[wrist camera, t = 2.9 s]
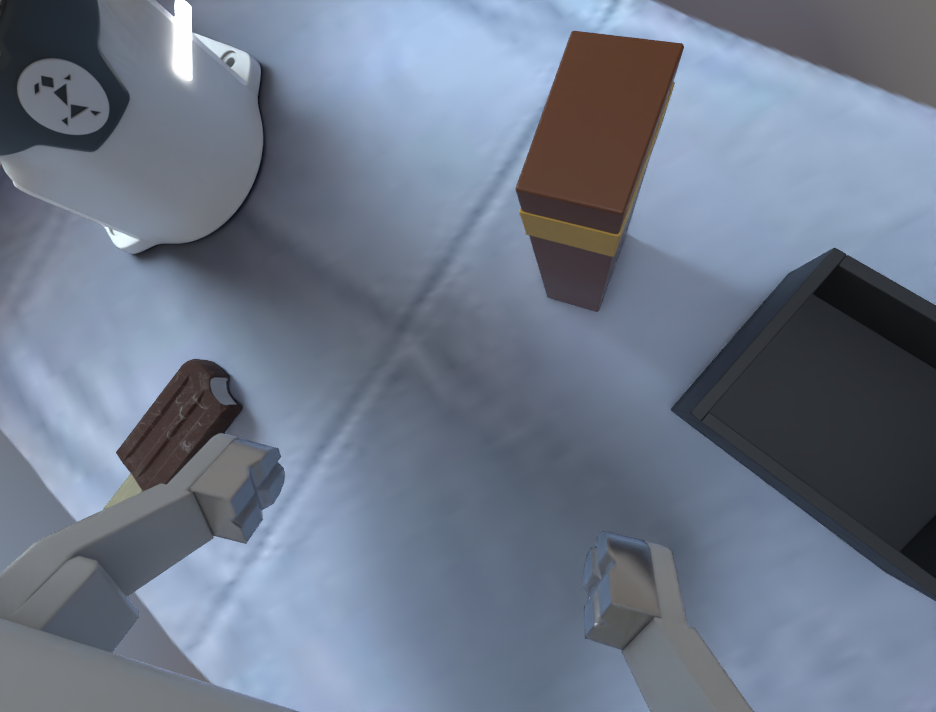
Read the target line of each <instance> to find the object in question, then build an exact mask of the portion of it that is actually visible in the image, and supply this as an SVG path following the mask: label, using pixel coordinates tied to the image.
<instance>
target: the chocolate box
mask: <svg viewBox="0 0 936 712" xmlns="http://www.w3.org/2000/svg"><path fill="white" fill-rule="evenodd" d="M683 49H684V46H683V44H682V43H673V42H664V41H656V40H647V39H639V38H630V37H622V36H613V35H605V34H596V33H588V32H579V31H572V33H571V35H570V37H569V40H568V43H567V46H566V48H565V51H564V54H563V57H562V60H561V62H560V65H559V68H558V71H557V74H556V76H555V79H554V82H553V85H552V88H551V90H550V93H549V96H548V99H547V102H546V104H545V107H544V110H543V113H542V116H541V118H540V121H539V124H538V127H537V130H536V132H535V135H534V138H533V141H532V144H531V146H530V149H529V152H528V155H527V158H526V160H525V163H524V166H523V169H522V172H521V174H520V177H519V180H518V183H517V186H516V193H517V196H518V199H519V203H520V206H521V209H520V215H521V219H522V222H523V225H524V228H525V231H526V234H527V235H529V236H530V240H531V243H532V246H533V250H534V253H535V257H536V260H537V263H538V267H539V270H540V273H541V277H542V280H543V284H544V287H545V290H546V294H547V297H549V298H552V299H556V300H559V301H562V302H566V303H569V304H572V305H576V306H579V307H583V308H586V309H589V310H593V311H596V312H598V311H599V308H600V306H601V303H602V300H603V297H604V295H605V292H606V289H607V286H608V283H609V281H610V278H611V275H612V272H613V269H614V267H615V264H616V261H617V258H618V255H619V253H620V250H621V247H622V244H623V241H624V239H625V236H626V233H627V230H628V226H629V223H630V220H631V217H632V213H633V210H634V207H635V204H636V201H637V197H638V194H639V191H640V188H641V184H642V181H643V178H644V175H645V171H646V168H647V165H648V162H649V159H650V156H651V153H652V150H653V147H654V144H655V142H656V139H657V136H658V133H659V130H660V128H661V125H662V122H663V119H664V116H665V113H666V109H667V106H668V103H669V100H670V97H671V94H672V90H673V87H674V84H675V83H674V78H675V75H676V71H677V68H678V65H679V62H680V59H681V55H682V52H683Z"/></svg>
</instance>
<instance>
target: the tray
mask: <svg viewBox="0 0 936 712" xmlns="http://www.w3.org/2000/svg"><path fill="white" fill-rule="evenodd" d="M671 411H673V412H674V413H675V414H677V415H678V416H679V417H681V418H682V419H683V420H685V421H686V422H687V423H688V424H690V425H691V426H692V427H694V428H695V429H696V430H698V431H699V432H700V433H702V434H703V435H704V436H706V437H707V438H708V439H710V440H711V441H712V442H714V443H715V444H716V445H718V446H719V447H720V448H722V449H723V450H724V451H726V452H727V453H728V454H730V455H731V456H732V457H734V458H735V459H736V460H738V461H739V462H740V463H742V464H743V465H744V466H745V467H747V468H748V469H749V470H751V471H752V472H753V473H755V474H756V475H757V476H759V477H760V478H761V479H763V480H764V481H765V482H767V483H768V484H769V485H771V486H772V487H773V488H775V489H776V490H777V491H779V492H780V493H781V494H783V495H784V496H785V497H787V498H788V499H789V500H791V501H792V502H793V503H795V504H796V505H797V506H799V507H800V508H801V509H802V510H804V511H805V512H806V513H808V514H809V515H810V516H812V517H813V518H814V519H816V520H817V521H818V522H820V523H821V524H822V525H824V526H825V527H826V528H828V529H829V530H830V531H832V532H833V533H834V534H836V535H837V536H838V537H840V538H841V539H842V540H844V541H845V542H846V543H848V544H849V545H850V546H852V547H853V548H854V549H856V550H857V551H858V552H860V553H861V554H862V555H863V556H865V557H866V558H867V559H869V560H870V561H871V562H873V563H874V564H875V565H877V566H878V567H879V568H881V569H882V570H883V571H885V572H886V573H888V574H889V575H891V576H893V577H895V578H897V579H898V580H900V581H902V582H903V583H905V584H907V585H909V586H910V587H912V588H914V589H916V590H917V591H919V592H921V593H923V594H924V595H926V596H928V597H930V598H931V599H933V600H935V601H936V305H934V304H932V303H930V302H929V301H927V300H925V299H923V298H922V297H920V296H918V295H916V294H915V293H913V292H911V291H909V290H908V289H906V288H904V287H903V286H901V285H899V284H897V283H896V282H894V281H892V280H890V279H889V278H887V277H885V276H883V275H882V274H880V273H878V272H876V271H875V270H873V269H871V268H869V267H868V266H866V265H864V264H862V263H861V262H859V261H857V260H855V259H854V258H852V257H850V256H848V255H847V256H846V254H845V253H843V252H842V251H840V250H838V249H836V248H833V249H831V250H829V251H828V252H826V253H824V254H822V255H821V256H819V257H817V258H815V259H813V260H812V261H810V262H808V263H806V264H805V265H803V266H801V267H799V268H798V269H796V270H794V271H792V272H790V273H789V274H788V275H787V276H786V277H785V279H784V280H783V281H782V282H781V283H780V284H779V286H778V287H777V288H776V289H775V290H774V291H773V292H772V294H771V295H770V296H769V297H768V298H767V299H766V301H765V302H764V303H763V304H762V305H761V306H760V307H759V309H758V310H757V311H756V312H755V313H754V314H753V316H752V317H751V318H750V319H749V320H748V321H747V322H746V324H745V325H744V326H743V327H742V328H741V329H740V331H739V332H738V333H737V334H736V335H735V336H734V337H733V339H732V340H731V341H730V342H729V343H728V344H727V346H726V347H725V348H724V349H723V350H722V351H721V352H720V354H719V355H718V356H717V357H716V358H715V359H714V361H713V362H712V363H711V364H710V365H709V366H708V368H707V369H706V370H705V371H704V372H703V373H702V374H701V376H700V377H699V378H698V379H697V380H696V381H695V383H694V384H693V385H692V386H691V387H690V388H689V389H688V391H687V392H686V393H685V394H684V395H683V396H682V398H681V399H680V400H679V401H678V402H677V403H676V404H675V406H674V407H673V408H672V409H671Z"/></svg>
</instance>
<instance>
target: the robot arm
mask: <svg viewBox="0 0 936 712" xmlns="http://www.w3.org/2000/svg"><path fill="white" fill-rule="evenodd" d="M260 78H261V68H260V64H259V63H258V62H257V61H256V60H255V59H254V58H253V57H252V56H250V55H249V54H248V53H247V52H245V51H242V50H239V49H237V48H234V47H231V46H229V45H226V44H223V43H220V42H218V41H215V40H212V39H210V38H207V37H204V36H201V35H199V34H196V33H193V32H191V6H190V5H189V4H188V3H187V2H186V1H185V0H175V17H173V16H172V15H171V14H170V13H169V12H168V11H167V10H166V9H164V8H163V7H162V6H161V5H160V4H159V3H158V2H157V1H155V0H0V162H1V164H2V166H3V168H4V171H5V172H6V174H7V175H8V176H9V177H10V178H11V179H12V180H13V183H14V186H15V187H17V188H18V189H20V190H21V191H23V192H25V193H27V194H29V195H32V196H34V197H36V198H39V199H41V200H43V201H46V202H48V203H51V204H53V205H55V206H58V207H60V208H63V209H65V210H67V211H70V212H72V213H75V214H77V215H79V216H82V217H84V218H87V219H89V220H92V221H94V222H96V223H99V224H101V225H103V226H104V227H105V229H106V231H107V233H108V234H109V236H110V238H111V239H112V241H113V243H114V244H115V246H116V247H117V248H119V249H121V250H123V251H126V252H128V253H131V254H136V253H139V252H142V251H144V250H146V249H148V248H151V247H152V246H154V245H156V244H163V243H170V244H179V243H187V242H191V241H195V240H198V239H200V238H202V237H205V236H207V235H208V234H210V233H212V232H213V231H215V230H216V229H218V228H219V227H220V226H222V225H223V224H224V223H225V222H226V221H227V220H228V219H229V218H230V217H231V216H232V215H233V214H234V213H235V212H236V211H237V209H238V208H239V207H240V205H241V204H242V203H243V201H244V200H245V198H246V196H247V195H248V193H249V191H250V189H251V187H252V185H253V183H254V180H255V178H256V175H257V172H258V169H259V166H260V161H261V156H262V150H263V127H262V120H261V116H260V112H259V107H258V92H259V86H260ZM280 458H281V455H280V452H279V448H276V447H272V446H268V445H264V444H260V443H257V442H253V441H249V440H245V439H242V438H239V437H235V436H231V435H227V434H223V433H219V434H217V435H215V436H213V437H212V438H211V439H210V440H209V441H208V442H207V443H206V444H205V445H204V446H203V447H202V448H201V449H200V450H199V451H198V453H197V454H196V455H195V456H194V457H193V458H192V459H191V460H190V461H189V462H188V463H187V464H186V465H185V466H184V467H183V468H182V469H181V470H180V471H179V472H178V473H177V474H176V475H175V476H174V478H173V479H172V480H171V481H170V482H169V483H168V484H167V485H166V484H159V485H156V486H154V487H152V488H150V489H148V490H146V491H143V492H141V493H139V494H137V495H135V496H133V497H130V498H128V499H126V500H124V501H122V502H120V503H117V504H115V505H113V506H111V507H109V508H107V509H104V510H102V511H100V512H98V513H96V514H94V515H91V516H89V517H87V518H85V519H83V520H81V521H78V522H76V523H74V524H72V525H70V526H68V527H66V528H63V529H61V530H59V531H57V532H55V533H53V534H50V535H48V536H46V537H44V538H42V539H40V540H37V541H36V542H35V543H34V544H33V545H32V546H30V547H29V548H28V549H27V550H26V551H25V552H24V553H23V554H21V555H20V556H19V557H18V558H17V559H16V560H15V561H14V562H13V563H11V564H10V565H9V566H8V567H7V568H6V569H5V570H4V571H3V572H1V573H0V712H299V711H296V710H292V709H289V708H286V707H283V706H280V705H277V704H273V703H270V702H267V701H264V700H261V699H257V698H254V697H251V696H248V695H245V694H241V693H238V692H235V691H232V690H229V689H226V688H222V687H219V686H216V685H213V684H210V683H206V682H203V681H200V680H197V679H193V678H190V677H187V676H184V675H181V674H178V673H175V672H171V671H168V670H165V669H162V668H159V667H155V666H152V665H149V664H146V663H143V662H140V661H136V660H133V659H130V658H127V657H124V656H120V655H117V654H114V653H112V652H113V651H114V650H115V648H116V647H117V645H118V644H119V643H120V642H121V640H122V639H123V638H124V636H125V635H126V634H127V632H128V631H129V630H130V628H131V627H132V626H133V624H134V623H135V622H136V620H137V619H138V618H139V611H138V610H137V608H136V607H135V606H134V605H133V603H131V601H130V600H129V599H128V598H127V596H129V595H130V594H132V593H133V592H135V591H136V590H138V589H139V588H141V587H142V586H143V585H145V584H146V583H148V582H149V581H151V580H152V579H154V578H155V577H157V576H158V575H160V574H161V573H163V572H164V571H166V570H167V569H169V568H170V567H171V566H173V565H174V564H176V563H177V562H179V561H180V560H182V559H183V558H185V557H186V556H188V555H189V554H191V553H192V552H194V551H195V550H197V549H198V548H199V547H201V546H202V545H204V544H205V543H207V542H208V541H210V540H211V539H213V536H217V537H221V538H225V539H229V540H233V541H237V542H241V543H245V544H246V543H247V542H248V540H249V539H250V537H251V536H252V535H253V533H254V532H255V530H256V529H257V527H258V526H259V524H260V523H261V521H262V520H263V515H262V510H263V509H265V508H267V507H269V506H270V505H272V504H273V503H274V502H275V500H276V499H277V497H278V496H279V494H280V492H281V489H282V487H283V484H284V479H285V472H284V468H283V467H282V466H281V465H280V464H279V463H278V460H279V459H280ZM584 589H585V590H586V592H587V594H588V595H589V597H590V599H589V600H588V602H587V603H586V605H585V606H584V623H585V639H589V640H592V641H595V642H598V643H602V644H605V645H608V646H611V647H615V648H618V649H621V650H623V651H622V654H623V656H624V658H625V660H626V662H627V664H628V666H629V668H630V670H631V672H632V674H633V676H634V678H635V681H636V683H637V685H638V687H639V689H640V691H641V693H642V695H643V697H644V699H645V701H646V703H647V705H648V707H649V710H650V712H754V711H753V710H752V708H751V707H750V706H749V704H748V703H747V701H746V700H745V699H744V697H743V696H742V694H741V693H740V691H739V690H738V689H737V687H736V686H735V684H734V683H733V682H732V680H731V679H730V677H729V676H728V674H727V673H726V672H725V670H724V669H723V667H722V666H721V665H720V663H719V662H718V660H717V659H716V657H715V656H714V655H713V653H712V652H711V650H710V649H709V648H708V646H707V645H706V643H705V642H704V640H703V639H702V638H701V636H700V635H699V633H698V632H697V631H696V629H695V628H693V627H690V626H688V625H687V620H686V616H685V611H684V606H683V601H682V597H681V592H680V587H679V582H678V578H677V573H676V568H675V563H674V558H673V554H672V552H671V550H670V549H669V548H668V547H666V546H663V545H658V544H654V543H650V542H646V541H644V540H640V539H636V538H632V537H628V536H623V535H619V534H615V533H611V532H606V531H602V532H600V533H599V535H598V536H597V546H594V547H592V548H590V550H589V552H588V554H587V557H586V561H585V565H584Z"/></svg>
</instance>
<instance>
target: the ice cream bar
mask: <svg viewBox="0 0 936 712" xmlns="http://www.w3.org/2000/svg"><path fill="white" fill-rule="evenodd" d="M228 380H229V377H228V375H227V374H226V373H225V372H224V371H223V370H222V369H221V368H220V367H219V366H218V365H217V364H215V363H214V362H212V361H208V360H200V359H193V360H190V361H187V362H186V363H184V364H183V365H182V366H181V368H180V369H179V370H178V372H177V373H176V374H175V376H174V377H173V378H172V380H171V381H170V382H169V383H168V385H167V386H166V387H165V389H164V390H163V391H162V393H161V394H160V395H159V397H158V398H157V399H156V401H155V402H154V403H153V404H152V406H151V407H150V408H149V410H148V411H147V412H146V414H145V415H144V416H143V418H142V419H141V420H140V422H139V423H138V424H137V425H136V427H135V428H134V429H133V431H132V432H131V433H130V435H129V436H128V437H127V439H126V440H125V441H124V443H123V444H122V445H121V447H120V448H119V449H118V450H117V452H116V453H117V455H118V456H119V458H120V459H121V461H122V462H123V464H124V465H125V466H126V468H127V469H128V470H129V471H130V473H131V474H130V475H129V476H128V478H127V479H126V480H125V481H124V483H123V484H122V485H121V487H120V488H119V489H118V490H117V492H116V493H115V494H114V496H113V497H112V498H111V500H110V501H109V502H108V503H107V505H106V506H105V507H104V509H107V508H109V507H111V506H113V505H115V504H117V503H120V502H122V501H124V500H126V499H128V498H130V497H133V496H135V495H137V494H139V493H141V492H143V491H146V490H148V489H150V488H152V487H154V486H156V485H159V484H166V485H167V484H168V483H169V482H170V481H171V480H172V479H173V478H174V476H175V475H176V474H177V473H178V472H179V471H180V470H181V469H182V468H183V467H184V466H185V465H186V464H187V463H188V462H189V461H190V460H191V459H192V458H193V457H194V456H195V455H196V454H197V453H198V451H199V450H200V449H201V448H202V447H203V446H204V445H205V444H206V443H207V442H208V441H209V440H210V439H211V438H212V437H213V436H215V435H217V434H219V433H223V432H224V431H225V429H226V428H227V427H228V426H229V424H230V423H231V422H232V421H233V419H234V418H235V417H236V415H237V414H238V413H239V412H240V410H241V406H240V405H239V404H238V403H237V402H236V400H235V399H234V398H233V397H232V395H231V394H230V393H229V390H228V387H227V381H228ZM104 509H103V510H104Z"/></svg>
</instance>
